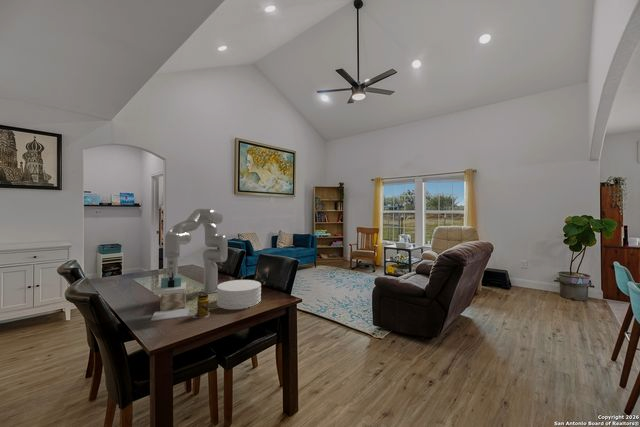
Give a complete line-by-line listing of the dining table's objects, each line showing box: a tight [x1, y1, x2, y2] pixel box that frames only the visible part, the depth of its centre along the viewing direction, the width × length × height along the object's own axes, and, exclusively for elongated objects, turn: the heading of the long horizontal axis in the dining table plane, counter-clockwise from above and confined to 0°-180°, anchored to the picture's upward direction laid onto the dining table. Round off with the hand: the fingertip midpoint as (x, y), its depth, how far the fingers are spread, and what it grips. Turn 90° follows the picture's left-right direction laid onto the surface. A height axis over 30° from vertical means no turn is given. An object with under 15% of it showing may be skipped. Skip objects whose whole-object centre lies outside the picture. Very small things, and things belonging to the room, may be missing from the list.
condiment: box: [191, 293, 211, 319], centre depth 157 cm, size 7×8×12 cm
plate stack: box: [216, 279, 262, 310], centre depth 181 cm, size 28×28×12 cm
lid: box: [153, 276, 187, 296], centre depth 157 cm, size 15×15×7 cm
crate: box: [159, 288, 187, 311], centre depth 171 cm, size 13×13×9 cm
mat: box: [150, 307, 190, 322], centre depth 157 cm, size 18×13×1 cm
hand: (171, 286), depth 157 cm, fingers closed on lid, 3 cm apart
